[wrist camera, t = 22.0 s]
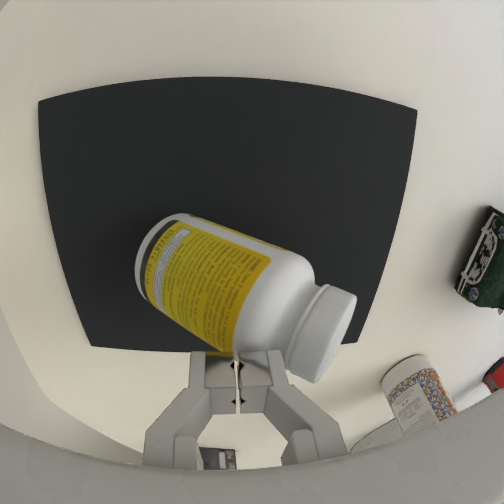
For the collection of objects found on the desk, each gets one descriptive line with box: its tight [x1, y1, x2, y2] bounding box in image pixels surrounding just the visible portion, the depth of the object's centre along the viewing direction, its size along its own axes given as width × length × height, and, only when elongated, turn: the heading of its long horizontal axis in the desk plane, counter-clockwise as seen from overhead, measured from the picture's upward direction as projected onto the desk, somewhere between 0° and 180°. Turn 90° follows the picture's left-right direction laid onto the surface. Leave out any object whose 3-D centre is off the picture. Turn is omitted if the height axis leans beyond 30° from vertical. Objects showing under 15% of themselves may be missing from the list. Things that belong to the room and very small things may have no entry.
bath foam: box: [381, 355, 459, 437], centre depth 21 cm, size 7×7×20 cm
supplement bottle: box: [135, 213, 357, 383], centre depth 13 cm, size 5×5×10 cm
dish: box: [351, 419, 403, 453], centre depth 41 cm, size 22×22×5 cm
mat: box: [38, 77, 417, 352], centre depth 18 cm, size 24×20×1 cm
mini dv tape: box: [199, 447, 237, 470], centre depth 32 cm, size 8×2×6 cm, turn 72°
